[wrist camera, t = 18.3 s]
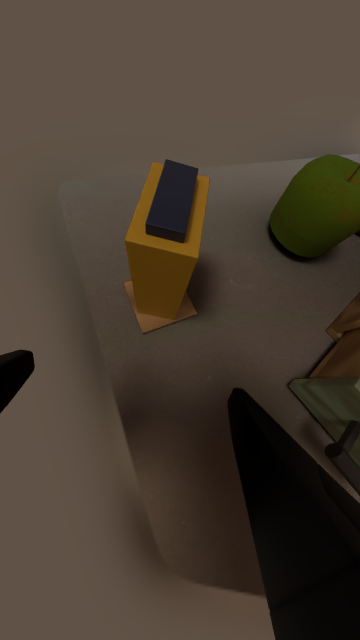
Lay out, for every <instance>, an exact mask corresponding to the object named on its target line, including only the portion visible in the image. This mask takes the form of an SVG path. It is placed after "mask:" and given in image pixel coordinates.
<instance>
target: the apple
mask: <svg viewBox="0 0 360 640" xmlns="http://www.w3.org/2000/svg"><path fill="white" fill-rule="evenodd" d="M269 223H270V226H271V229H272V231H273V233H274V235H275V236H276V238H277V240H278V241H279V242H280V243H281V244H282V245H283V246H284V247H285V248H286V249H288V250H290V251H291V252H293V253H295V254H297V255H299V256H304V257H309V258H311V257H316V256H320V255H321V254H323V253H325V252H326V251H328V250H329V249H331V248H332V247H334V246H336V245H337V244H339V243H340V242H342V241H343V240H345V239H346V238H348V237H349V236H351V235H352V234H354V233H356V232H357V231H359V230H360V164H359V163H356V162H354V161H352V160H349V159H347V158H344V157H341V156H338V155H326V156H323V157H320V158H317V159H314V160H312V161H311V162H309V163H307V164H306V165H305V166H304V167H303V168H302V169H301V170H300V171H299V172H298V173H297V174H296V175H295V176H294V177H293V179H292V180H291V182H290V183H289V185H288V187H287V188H286V190H285V191H284V193H283V195H282V196H281V198H280V200H279V201H278V203H277V205H276V206H275V208H274V210H273V211H272V213H271V215H270V220H269Z"/></svg>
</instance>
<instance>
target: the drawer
mask: <svg viewBox="0 0 360 640" xmlns="http://www.w3.org/2000/svg"><path fill="white" fill-rule="evenodd" d="M309 378H310V379H294V380H293V382H292V383H291V384H290V385H289V387H290V388H291V389H292V390H293V392H294V393H295V394H296V395H297V396H298V397H299V399H300V400H301V401H302V402H303V403H304V404H305V406H306V407H307V408H308V409H309V410H310V411H311V413H312V414H313V415H314V416H315V417H316V418H317V420H318V421H319V422H320V423H321V424H322V425H323V427H324V428H325V429H326V430H327V431H328V432H329V434H330V435H331V436H332V437H333V438H334V439H335V441H336V442H337V443H332V444H329V445H327V446H326V447H325V450H324V452H325V455H326V456H327V457H328V458H329V460H330V461H331V462H332V463H333V464H334V466H335V467H336V468H337V469H338V470H339V472H340V473H341V474H342V475H343V476H344V478H345V479H346V480H347V481H348V482H349V484H350V485H351V486H352V487H353V488H354V490H355V491H356V492H357V493H358V494H359V496H360V327H358V328H354V329H351V330H347V332H346V333H345V334H344V335H343V336H342V338H341V339H340V340H339V341H338V342H337V344H336V345H335V346H334V347H333V348H332V350H331V351H330V352H329V353H328V354H327V356H326V357H325V358H324V359H323V360H322V362H321V363H320V364H319V365H318V366H317V368H316V369H315V370H314V371H313V372H312V374H311V375H310V376H309Z"/></svg>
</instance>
